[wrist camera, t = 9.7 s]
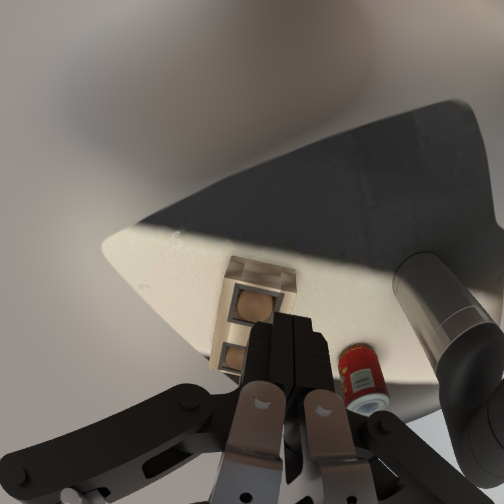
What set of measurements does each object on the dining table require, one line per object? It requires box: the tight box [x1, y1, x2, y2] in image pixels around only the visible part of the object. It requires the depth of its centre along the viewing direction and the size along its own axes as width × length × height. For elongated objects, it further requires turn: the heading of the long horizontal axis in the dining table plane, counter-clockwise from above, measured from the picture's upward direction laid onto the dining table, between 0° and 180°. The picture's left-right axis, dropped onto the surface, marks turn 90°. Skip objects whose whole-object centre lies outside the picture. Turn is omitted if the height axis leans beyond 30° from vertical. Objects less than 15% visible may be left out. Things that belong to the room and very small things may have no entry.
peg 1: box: [226, 346, 245, 370], centre depth 43 cm, size 4×4×6 cm
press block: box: [209, 256, 297, 376], centre depth 41 cm, size 9×17×6 cm, turn 168°
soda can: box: [338, 344, 390, 417], centre depth 41 cm, size 7×7×12 cm
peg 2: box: [237, 289, 273, 322], centre depth 39 cm, size 4×4×6 cm
